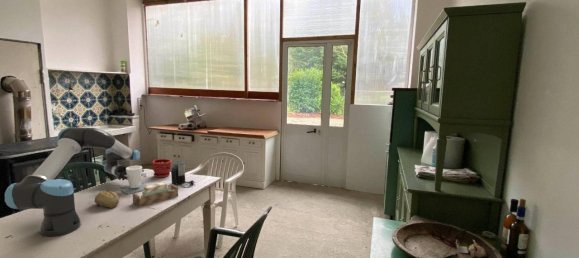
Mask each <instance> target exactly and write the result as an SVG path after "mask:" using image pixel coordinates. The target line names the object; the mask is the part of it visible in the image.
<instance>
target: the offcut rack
mask: <svg viewBox="0 0 579 258" xmlns="http://www.w3.org/2000/svg"><path fill="white" fill-rule="evenodd" d="M169 190H170V191H166V192H162V193H158V194H154V195H150V196H146V197H142V198H141V195H139V194H137V193H136V192H135V193H131V194H132V204H133V205H134V206H136V207H137V208H139V207H143V206H147V205H150V204H154V203H157V202H161V201H164V200H169V199H171V198H177V197H179V187H178V186H177V185H175V184H172V183H171V184H170V189H169Z"/></svg>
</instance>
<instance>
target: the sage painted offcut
mask: <svg viewBox="0 0 579 258" xmlns="http://www.w3.org/2000/svg"><path fill="white" fill-rule="evenodd" d="M169 190H170V188H169V186H167V188H164V189H160V190H156V191H152V192H148V193H147V192H145V191H141V192H142V194H141V195H143V196H145V197H146V196H150V195H154V194H158V193H162V192H166V191H169Z"/></svg>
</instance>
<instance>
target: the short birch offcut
mask: <svg viewBox="0 0 579 258" xmlns="http://www.w3.org/2000/svg"><path fill="white" fill-rule="evenodd" d="M167 187H168V184H167V183H166V182H164V181H162V182H159V183H158V182H157V183H154V184H149V185H147V186H145V187H144V191H145V192H147V193H148V192H152V191H156V190H160V189H164V188H167Z"/></svg>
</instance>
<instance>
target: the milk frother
mask: <svg viewBox="0 0 579 258" xmlns="http://www.w3.org/2000/svg"><path fill="white" fill-rule="evenodd" d="M185 167H186V162H185V161H182V160H179V161H173V162H171V169H170V174H171V175H170V176H171V184H173V185H175V186H177V185H183V184H190V185H193V184H194V183H196V182H195V181H194V179H193V180H190V181H186V168H185Z"/></svg>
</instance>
